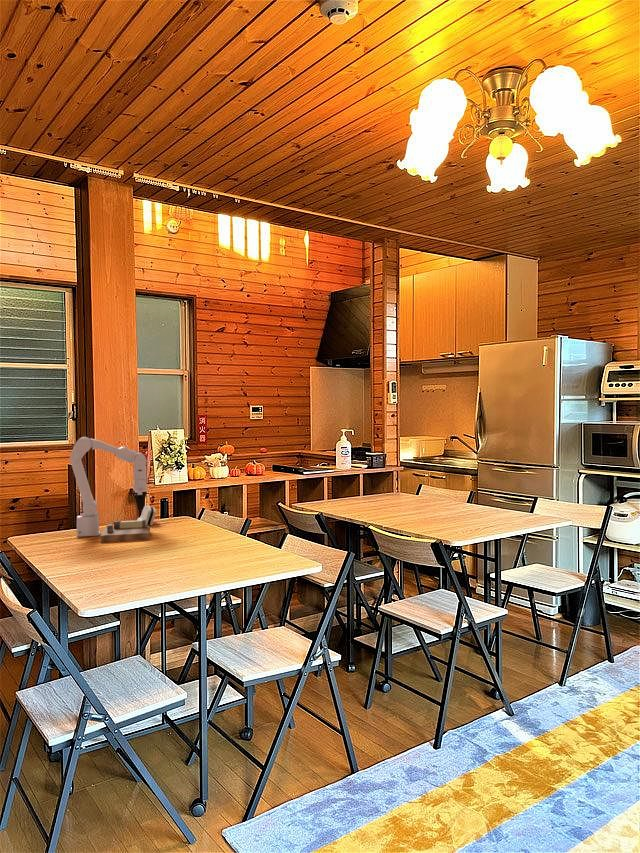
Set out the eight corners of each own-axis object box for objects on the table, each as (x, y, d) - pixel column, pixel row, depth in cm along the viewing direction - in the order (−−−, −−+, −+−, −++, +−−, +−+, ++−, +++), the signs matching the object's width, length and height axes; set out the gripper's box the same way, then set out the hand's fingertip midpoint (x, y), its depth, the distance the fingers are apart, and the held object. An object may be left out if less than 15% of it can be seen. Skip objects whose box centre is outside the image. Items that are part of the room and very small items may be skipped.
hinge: (136, 521, 330) (142, 502, 331) (145, 524, 332) (151, 505, 333) (141, 527, 315) (148, 506, 316) (150, 529, 317) (157, 509, 318)
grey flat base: (100, 542, 279) (100, 528, 279) (104, 534, 297) (103, 521, 297) (149, 539, 284) (149, 526, 284) (150, 532, 301) (149, 519, 301)
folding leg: (113, 529, 293) (113, 522, 293) (114, 527, 296) (113, 521, 296) (145, 527, 296) (145, 520, 296) (145, 526, 300) (145, 519, 299)
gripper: (148, 480, 297) (149, 510, 298) (149, 477, 312) (150, 505, 312) (132, 481, 296) (133, 511, 296) (133, 477, 310) (134, 506, 310)
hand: (140, 508), depth 304 cm, fingers open, 7 cm apart
